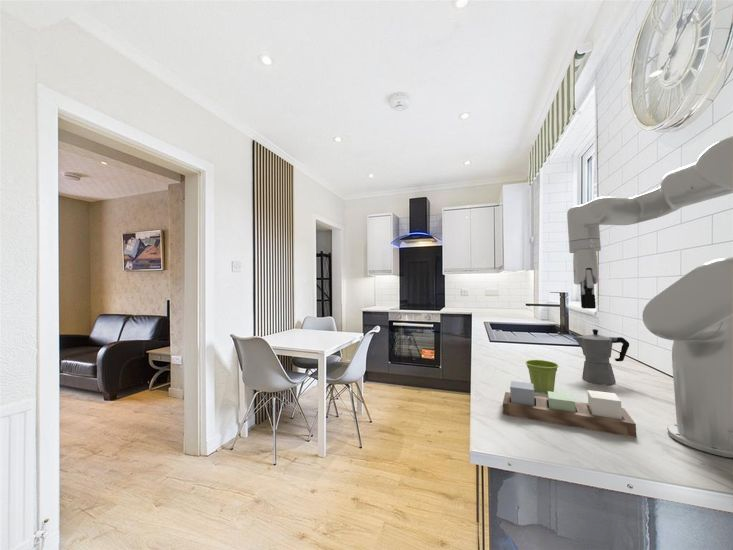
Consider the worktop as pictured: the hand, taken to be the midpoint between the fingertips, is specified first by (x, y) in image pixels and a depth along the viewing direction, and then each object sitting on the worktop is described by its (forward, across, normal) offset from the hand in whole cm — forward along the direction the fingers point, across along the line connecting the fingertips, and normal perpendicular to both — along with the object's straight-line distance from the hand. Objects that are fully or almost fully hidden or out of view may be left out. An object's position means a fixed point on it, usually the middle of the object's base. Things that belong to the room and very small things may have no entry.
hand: (588, 308), depth 85 cm
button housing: (+27, +16, -9) cm, 33 cm away
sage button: (+27, +16, -9) cm, 33 cm away
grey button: (+25, +16, -18) cm, 35 cm away
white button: (+25, +16, 0) cm, 30 cm away
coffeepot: (+27, -23, +6) cm, 36 cm away
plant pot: (+27, -4, -13) cm, 30 cm away
